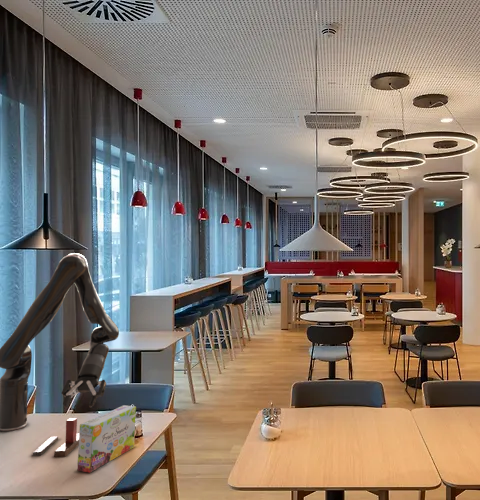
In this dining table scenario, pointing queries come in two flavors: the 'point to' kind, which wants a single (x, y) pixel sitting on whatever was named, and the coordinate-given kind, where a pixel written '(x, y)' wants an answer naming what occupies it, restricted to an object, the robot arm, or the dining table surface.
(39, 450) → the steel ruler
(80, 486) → the dining table surface
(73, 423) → the stamp
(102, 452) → the snack box
